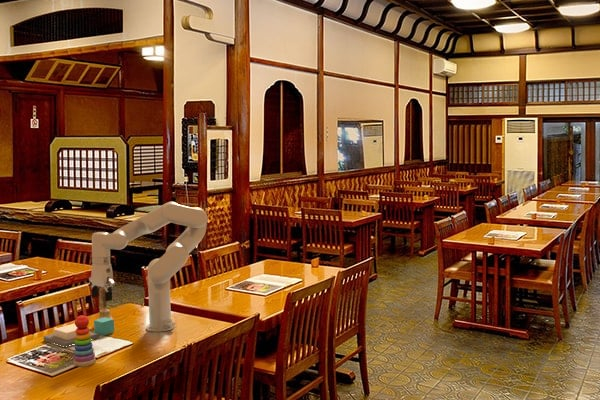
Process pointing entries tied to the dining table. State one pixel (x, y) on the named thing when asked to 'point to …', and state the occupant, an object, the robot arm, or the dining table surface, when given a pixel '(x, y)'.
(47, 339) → the stack base
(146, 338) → the dining table surface
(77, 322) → the stacking toy
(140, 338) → the dining table surface
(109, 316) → the hand bell
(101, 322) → the teal cube
